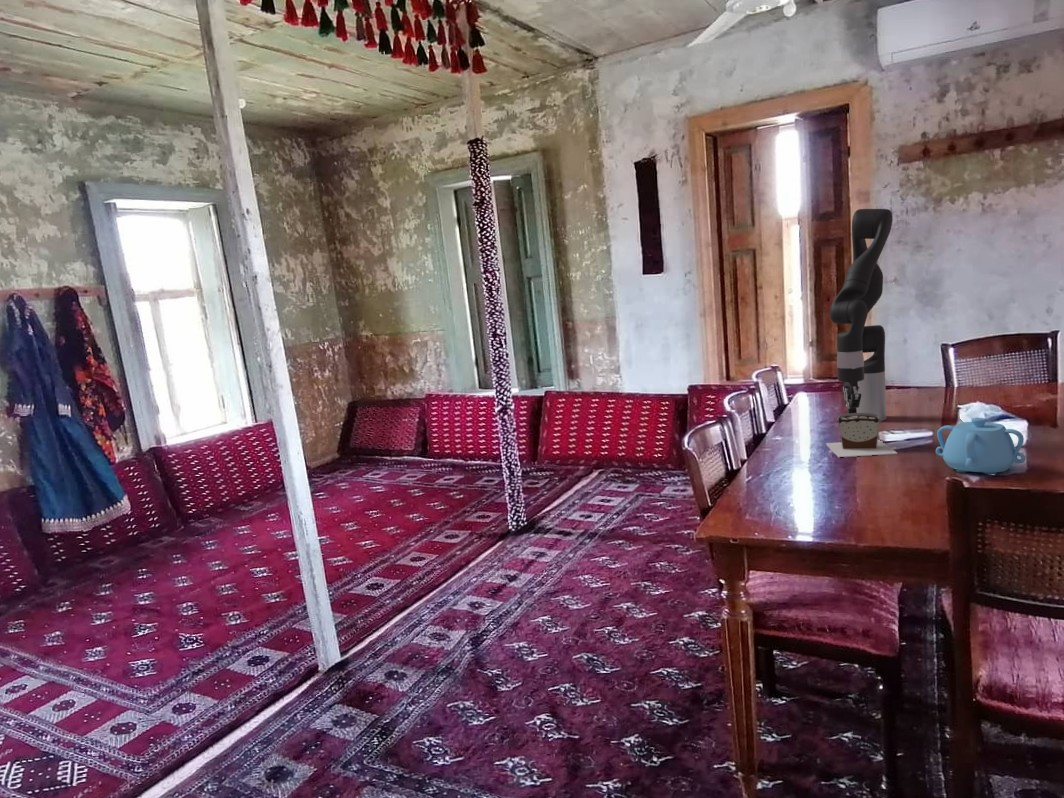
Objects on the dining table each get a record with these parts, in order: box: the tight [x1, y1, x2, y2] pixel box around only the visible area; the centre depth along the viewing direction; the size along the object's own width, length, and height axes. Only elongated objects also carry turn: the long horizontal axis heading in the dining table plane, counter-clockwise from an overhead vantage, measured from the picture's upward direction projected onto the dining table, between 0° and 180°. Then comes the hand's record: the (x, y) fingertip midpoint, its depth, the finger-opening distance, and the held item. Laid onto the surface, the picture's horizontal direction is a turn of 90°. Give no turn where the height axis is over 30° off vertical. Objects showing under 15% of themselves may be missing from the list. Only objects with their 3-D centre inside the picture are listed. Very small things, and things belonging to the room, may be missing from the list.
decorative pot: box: [935, 417, 1026, 476], centre depth 176 cm, size 16×16×14 cm
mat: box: [825, 439, 898, 459], centre depth 206 cm, size 16×16×1 cm
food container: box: [836, 413, 883, 449], centre depth 207 cm, size 12×6×10 cm, turn 67°
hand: (852, 419), depth 212 cm, fingers closed
